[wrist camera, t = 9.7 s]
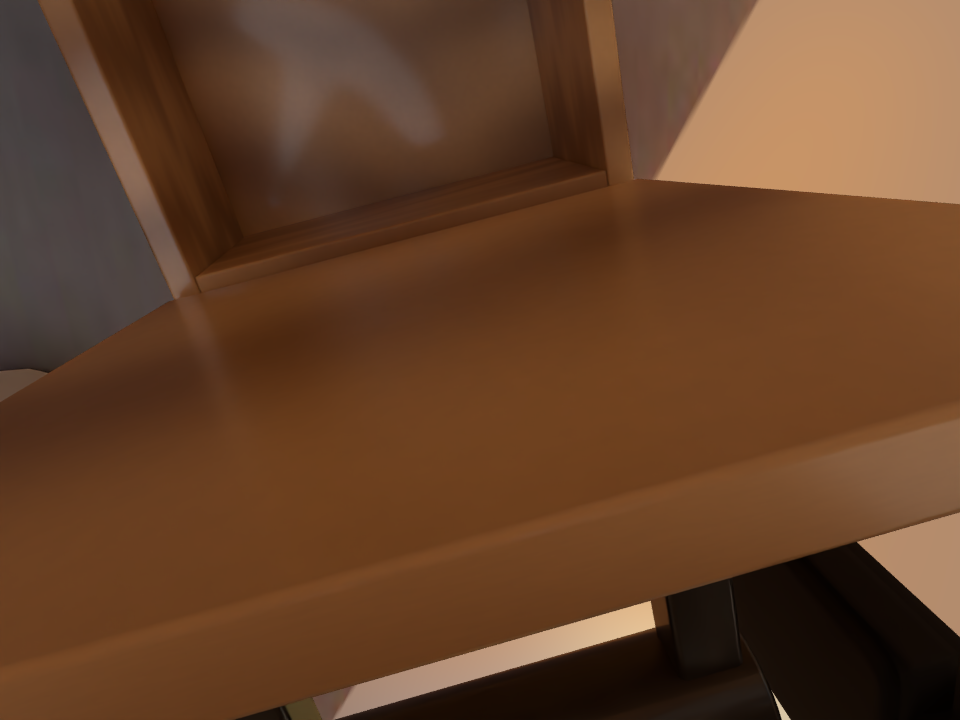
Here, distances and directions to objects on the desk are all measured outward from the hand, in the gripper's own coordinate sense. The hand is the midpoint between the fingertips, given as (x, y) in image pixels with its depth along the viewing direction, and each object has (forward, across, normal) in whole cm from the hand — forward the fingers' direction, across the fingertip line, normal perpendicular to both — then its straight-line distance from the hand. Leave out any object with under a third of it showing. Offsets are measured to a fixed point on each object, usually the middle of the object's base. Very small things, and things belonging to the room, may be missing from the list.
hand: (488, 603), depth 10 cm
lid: (+3, 0, -5) cm, 5 cm away
